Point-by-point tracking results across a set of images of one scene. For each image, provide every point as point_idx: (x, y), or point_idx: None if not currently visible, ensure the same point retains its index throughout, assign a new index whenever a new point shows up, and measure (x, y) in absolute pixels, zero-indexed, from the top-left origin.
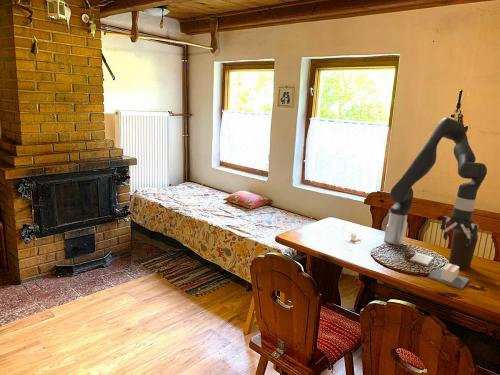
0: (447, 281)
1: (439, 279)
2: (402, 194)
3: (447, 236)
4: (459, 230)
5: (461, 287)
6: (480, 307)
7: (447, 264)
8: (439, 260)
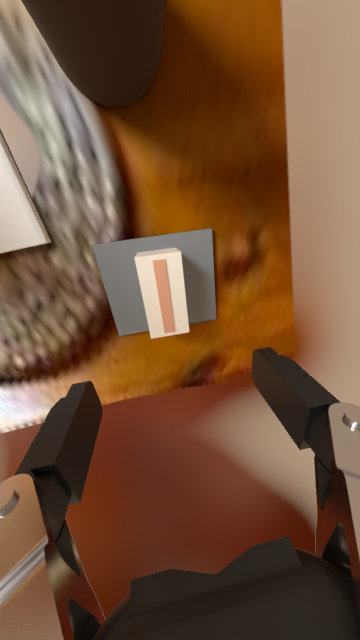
0: None
1: None
2: None
3: (84, 414)
4: None
5: (214, 319)
6: None
7: (139, 280)
8: (10, 74)
